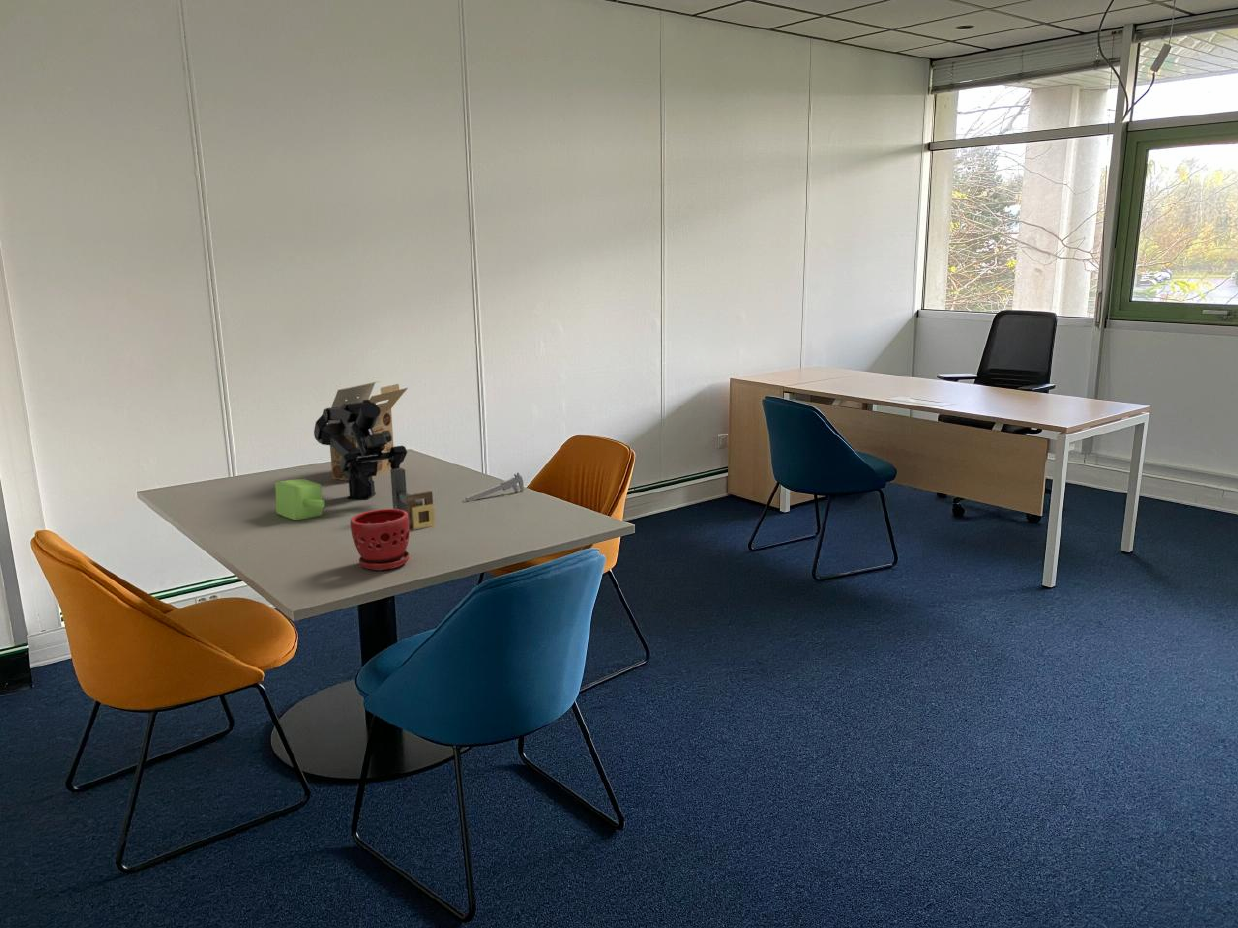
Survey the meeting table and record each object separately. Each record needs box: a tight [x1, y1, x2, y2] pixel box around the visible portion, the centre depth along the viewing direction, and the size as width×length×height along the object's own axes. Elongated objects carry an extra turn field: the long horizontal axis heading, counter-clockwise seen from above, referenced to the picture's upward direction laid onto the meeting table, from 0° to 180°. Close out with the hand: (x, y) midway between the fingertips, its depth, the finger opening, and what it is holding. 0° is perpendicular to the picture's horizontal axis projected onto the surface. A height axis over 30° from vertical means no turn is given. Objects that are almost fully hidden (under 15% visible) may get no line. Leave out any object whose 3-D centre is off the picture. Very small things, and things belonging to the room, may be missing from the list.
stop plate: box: [406, 490, 434, 530], centre depth 249 cm, size 4×7×9 cm, turn 127°
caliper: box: [462, 472, 525, 503], centre depth 279 cm, size 20×1×6 cm, turn 127°
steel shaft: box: [389, 467, 424, 512], centre depth 254 cm, size 14×3×13 cm, turn 37°
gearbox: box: [275, 478, 325, 521], centre depth 261 cm, size 18×10×10 cm, turn 47°
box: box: [327, 381, 409, 481], centre depth 308 cm, size 21×20×30 cm
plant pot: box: [350, 508, 411, 571], centre depth 217 cm, size 13×13×12 cm
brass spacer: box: [411, 503, 436, 531], centre depth 248 cm, size 1×6×6 cm, turn 127°
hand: (383, 482), depth 266 cm, fingers open, 9 cm apart
